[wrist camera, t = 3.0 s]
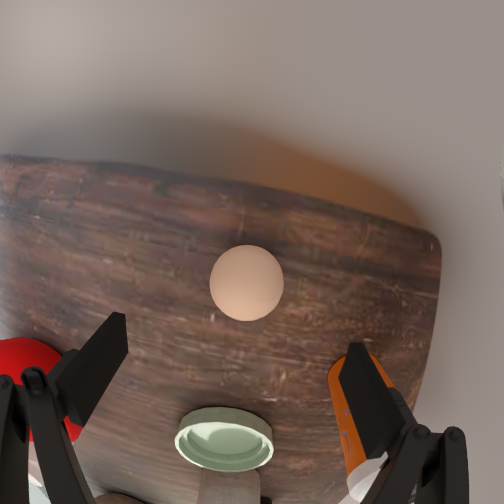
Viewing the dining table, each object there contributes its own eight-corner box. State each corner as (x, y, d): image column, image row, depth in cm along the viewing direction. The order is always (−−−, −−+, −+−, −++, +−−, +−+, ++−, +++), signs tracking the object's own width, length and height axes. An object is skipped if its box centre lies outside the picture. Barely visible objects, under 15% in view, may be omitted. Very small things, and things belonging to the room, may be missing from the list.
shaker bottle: (375, 333, 31) (452, 460, 12) (389, 378, 34) (446, 488, 14) (310, 365, 33) (344, 509, 13) (331, 405, 35) (364, 526, 16)
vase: (12, 299, 31) (-69, 360, 13) (105, 358, 33) (38, 461, 15) (19, 375, 36) (-32, 434, 17) (97, 424, 38) (58, 503, 19)
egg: (231, 226, 28) (223, 246, 20) (291, 254, 29) (304, 283, 21) (205, 282, 30) (190, 319, 22) (262, 307, 30) (264, 349, 23)
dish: (280, 409, 35) (282, 427, 32) (264, 459, 39) (264, 474, 35) (178, 396, 35) (172, 414, 31) (180, 449, 38) (177, 464, 35)
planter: (249, 457, 39) (248, 502, 29) (267, 481, 41) (268, 520, 32) (191, 462, 40) (184, 504, 30) (215, 486, 42) (211, 523, 33)
